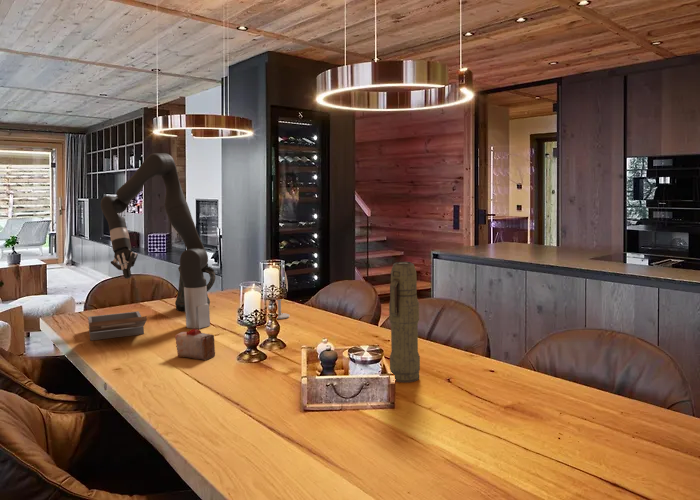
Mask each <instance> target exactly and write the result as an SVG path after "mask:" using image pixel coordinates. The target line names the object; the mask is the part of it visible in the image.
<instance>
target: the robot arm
mask: <svg viewBox="0 0 700 500" xmlns="http://www.w3.org/2000/svg"><path fill="white" fill-rule="evenodd" d="M141 163H142V164H140V166H139V167H138V168H137V170H136V171H135V172H134V174H133V175H132V176H131V177H130V178H129V179H128V180H127V181H126V182H125V183H123V185H121V186H120V187H119V188H118V189H117V190H116V193H115V194H116V196H110V195H106V196H103V197H102V198H101V201H100V209H101V212H102V214H103V215H104V219H105V220H106V221H107V223H108V227H109V234H110V235H109V237H110V238H109V239H110V242H111V247H112V248H111V249H112V251H113V253H114V256H113V257H114V258H113V260H111V261H110V264H111V265H112V266H113V267H114V268H116V270H118V271H122V275H123V278H124V279H127V280H128V279H130V278H131V277H132V272H131V268H132V267H133V268H134V266H135V263H136V261H137V258H138V255H139V254H138V253H136V252H134V251H133V250H132V245H131V239H130V235H129V231H128V227H127V223H126V219H125V217H124V216H122V215H120V214H121V213H124V212H125V211H126V210H127V209H128V207H129V204H130V203H131V202H132V200H133V199H135V198H136V197H137V196H138V195H139V194H140V193H141V192H142V191H143V189H144V186H145V184H146V183H147V182H148V181H149V180H150V179H152V178H154V177H155V176H157V177H158V176H159V177H160V176H161V177H162V179H163V183H164V186H165V197H164V198H165V199H164V208H165V212H166V215H167V217H168V220H169V223H170V225H171V226H172V227H173V229H174V230H175V232H177V234H178V235H179V236H180V238H181V239H182V241H183V243H184V246H185V248H186V249H185V250H184V251H182V253H181V254H180V258H179V266H180V269H181V278H182V281H183V283H184V296H185V312H184V313H185V327H186V328H187V329H198V328H199V330H200V329H204V328H206V327H210V326H211V318H210V316H211V315H210V314H211V313H210V305H209V304H207V295H208V292H207V279H206V278H205V277H204V278H203V277H202V274H201V268H204V267H205V266H206V265H207V263H208V264H209V255H208V253H207V250H206V248H205V246H204V244H203V242H202V240H201V238H200V235H199V233H198V230H197V227H196V225H195V221H194V219H193V217H192V213H191V210H190V207H189V205H188V202H187V199H186V197H185V195H184V191H183V189H182V188H183V187H182V185H181V182H180V178H179V173H178V169H177V166H176V162H175V160H174V158H173V156H171V155H170V154H169V153H165V152H163V153H161V152H160V153H158V152H156V153H151V154H149V155H148V156H147V157H146V158H145V160H144V161H143V162H141Z"/></svg>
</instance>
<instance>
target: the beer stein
mask: <svg viewBox="0 0 700 500" xmlns="http://www.w3.org/2000/svg"><path fill="white" fill-rule="evenodd" d="M178 272H179V279H178V280H179V282H178V289H177V297H176V299H175V302H174V304H175V310H176V311H178V312H183V313H185V296H184V283H183V281H182V278H181V269H180V265H179V266H178ZM204 273H207V274H208V275H209V277H210V278H209V280H208V283H206V286H207V293H208V292H209V291H210V290H211V289H212V287H213V286H214V285H215V283H216V282H215V281H216V272H215V269H213V267H211V266H209V262H208V263H207V265H206V266H205V267H204V268H201V274H202V277H203V278H205V277H204V276H205V275H204ZM207 304H209V306H210V304H211V301H210V298H209V296H208V294H207Z"/></svg>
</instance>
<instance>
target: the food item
mask: <svg viewBox="0 0 700 500" xmlns="http://www.w3.org/2000/svg"><path fill="white" fill-rule="evenodd" d="M174 337H175V339H174V340H175V347H176V351H177V358H185V359H186V358H188V359H195V360H200V361H201V360H203V361H208V360H210V359H211V358H213V359H214V358H215V356H216V349H215V348H216V347H215V335H214V334H211V333H205V332H202V331H201V330H200V329H199V328H192V329H189V330H188V331H181V332H179V333H177V334H175V336H174Z"/></svg>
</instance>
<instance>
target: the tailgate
mask: <svg viewBox="0 0 700 500" xmlns="http://www.w3.org/2000/svg"><path fill="white" fill-rule="evenodd" d="M147 321H148V318H147V316H141V317H136V318H127V319H118V320H109V321H100V322H91V323H89V322H88V331H89V330H90V333H91V332H99V331H108V330H116V329H125V328H133V327H141V326H143V327H144V326H145V324H146V323H147Z"/></svg>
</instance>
